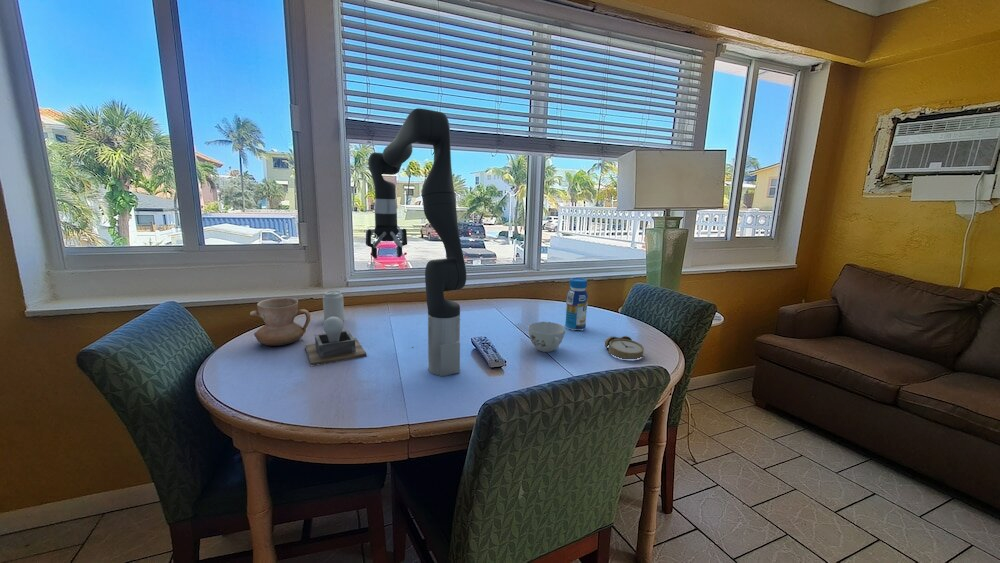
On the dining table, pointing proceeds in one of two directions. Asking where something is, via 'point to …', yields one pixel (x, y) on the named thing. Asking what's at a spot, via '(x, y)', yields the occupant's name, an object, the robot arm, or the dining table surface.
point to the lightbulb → (333, 328)
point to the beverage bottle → (576, 304)
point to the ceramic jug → (279, 321)
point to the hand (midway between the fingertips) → (387, 257)
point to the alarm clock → (624, 347)
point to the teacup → (546, 335)
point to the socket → (334, 349)
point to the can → (333, 305)
